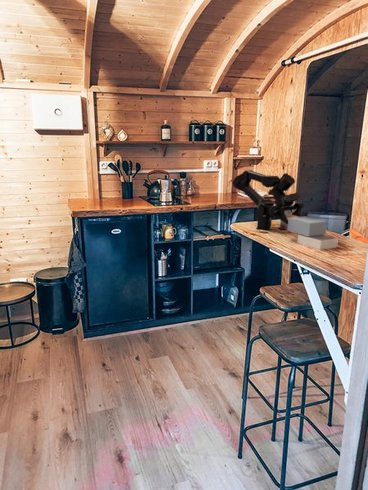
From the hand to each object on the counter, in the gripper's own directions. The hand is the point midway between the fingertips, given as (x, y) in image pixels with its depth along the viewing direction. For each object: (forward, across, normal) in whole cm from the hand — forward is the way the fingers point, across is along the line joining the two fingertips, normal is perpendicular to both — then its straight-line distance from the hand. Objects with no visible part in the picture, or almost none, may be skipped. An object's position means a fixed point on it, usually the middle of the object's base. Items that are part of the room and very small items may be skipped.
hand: (294, 223), depth 184 cm
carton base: (+15, 0, -5) cm, 16 cm away
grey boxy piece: (+6, 0, -2) cm, 6 cm away
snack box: (-12, +18, +22) cm, 31 cm away
